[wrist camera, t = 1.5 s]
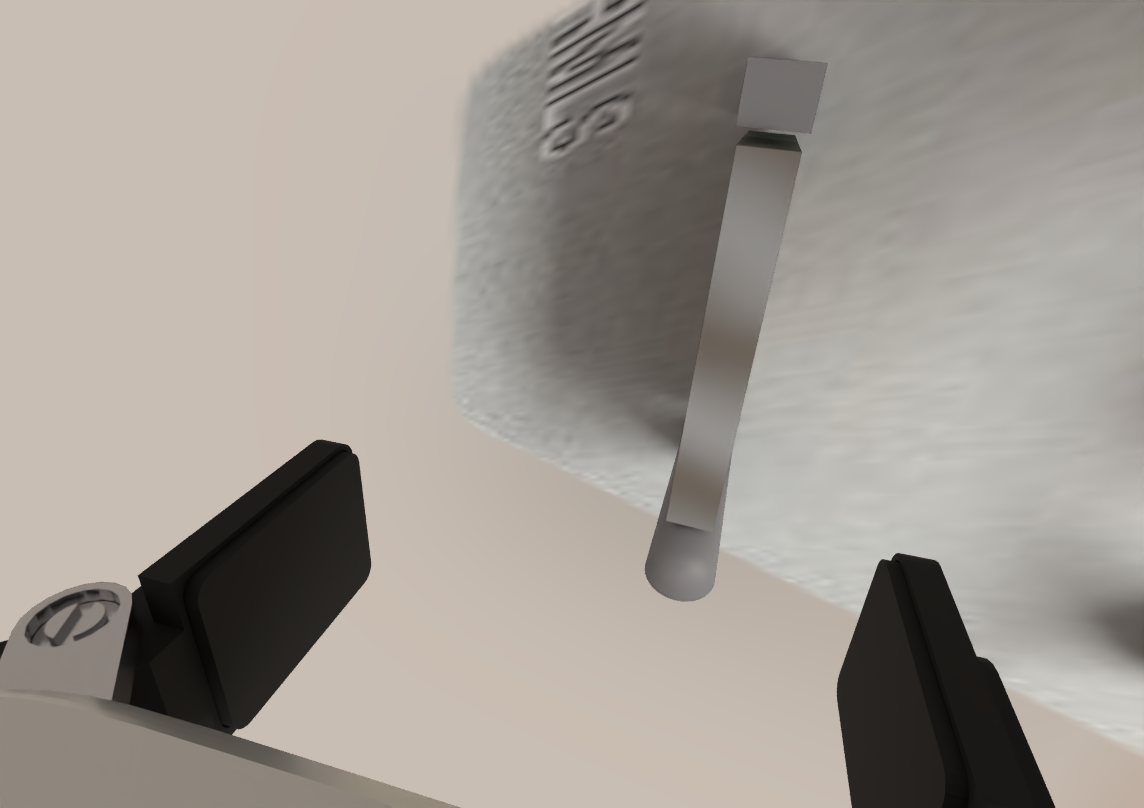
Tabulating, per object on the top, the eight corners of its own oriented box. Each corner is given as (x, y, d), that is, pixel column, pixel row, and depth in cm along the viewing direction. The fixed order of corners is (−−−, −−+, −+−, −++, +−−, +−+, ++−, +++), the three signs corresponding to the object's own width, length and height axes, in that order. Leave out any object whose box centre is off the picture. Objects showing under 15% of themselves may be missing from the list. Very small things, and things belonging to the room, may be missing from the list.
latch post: (757, 68, 28) (748, 56, 20) (812, 73, 28) (827, 63, 19) (748, 117, 29) (735, 126, 20) (801, 122, 29) (810, 133, 20)
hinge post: (686, 413, 37) (649, 538, 26) (737, 424, 36) (721, 556, 26) (678, 456, 38) (640, 590, 28) (727, 467, 37) (707, 609, 27)
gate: (728, 426, 34) (712, 532, 26) (693, 419, 35) (666, 520, 27) (795, 135, 28) (801, 152, 19) (749, 130, 28) (736, 145, 20)
